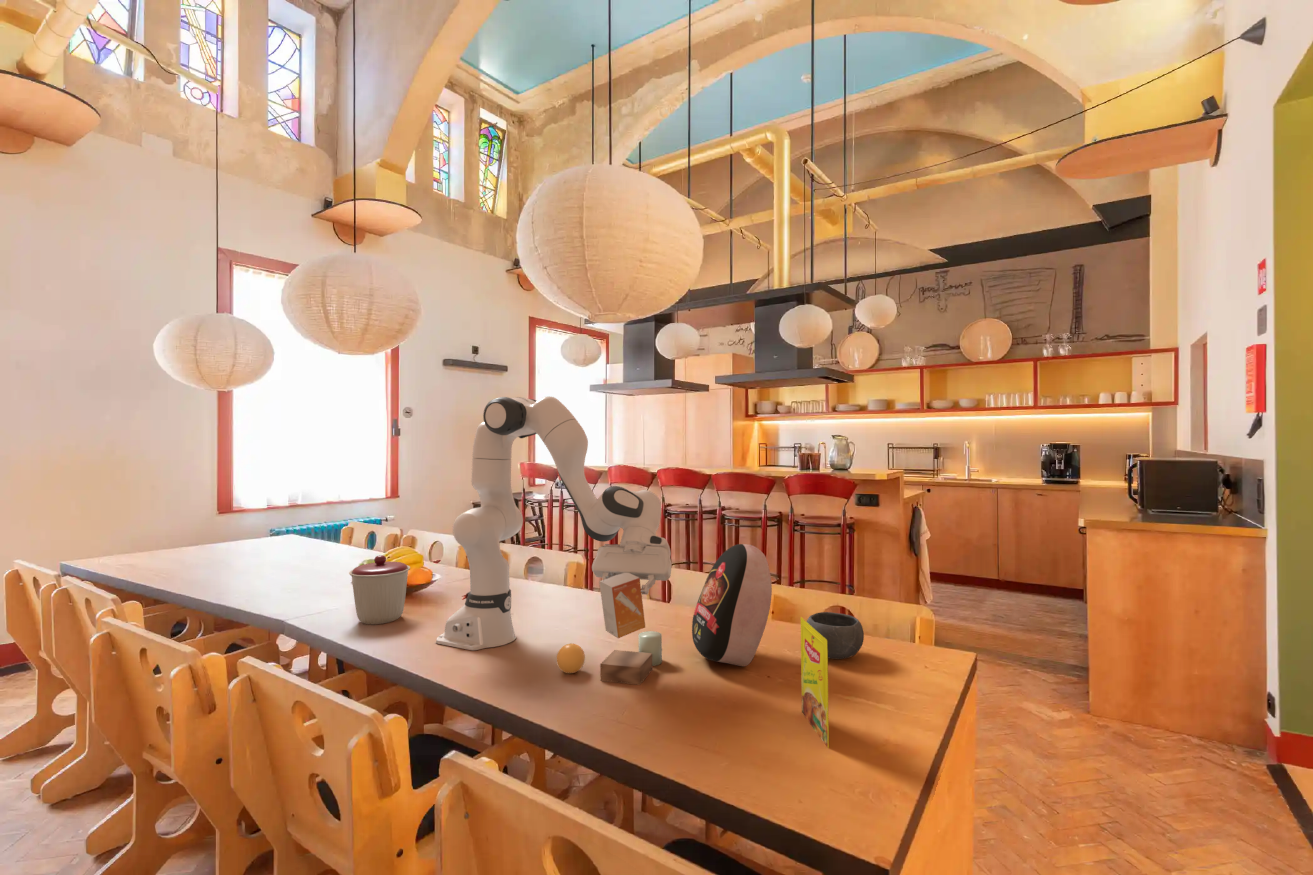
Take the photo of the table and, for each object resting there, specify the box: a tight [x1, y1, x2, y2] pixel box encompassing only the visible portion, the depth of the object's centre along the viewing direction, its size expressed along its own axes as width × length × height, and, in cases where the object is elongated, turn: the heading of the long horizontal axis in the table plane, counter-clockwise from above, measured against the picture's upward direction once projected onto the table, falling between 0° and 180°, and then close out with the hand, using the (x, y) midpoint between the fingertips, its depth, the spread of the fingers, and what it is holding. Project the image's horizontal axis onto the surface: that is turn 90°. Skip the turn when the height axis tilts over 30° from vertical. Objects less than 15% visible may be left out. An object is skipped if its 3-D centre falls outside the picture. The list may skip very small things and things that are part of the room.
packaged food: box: [691, 543, 773, 667], centre depth 159 cm, size 22×20×30 cm
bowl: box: [806, 611, 865, 660], centre depth 160 cm, size 15×15×10 cm
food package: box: [800, 616, 830, 749], centre depth 120 cm, size 15×1×20 cm, turn 5°
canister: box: [348, 554, 411, 625], centre depth 198 cm, size 18×18×21 cm
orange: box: [556, 642, 586, 674], centre depth 151 cm, size 7×7×7 cm
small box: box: [598, 573, 646, 639], centre depth 148 cm, size 8×6×13 cm
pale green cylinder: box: [638, 630, 663, 667], centre depth 157 cm, size 6×6×7 cm
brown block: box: [599, 649, 653, 686], centre depth 149 cm, size 10×10×4 cm
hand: (625, 592), depth 148 cm, fingers closed on small box, 8 cm apart
